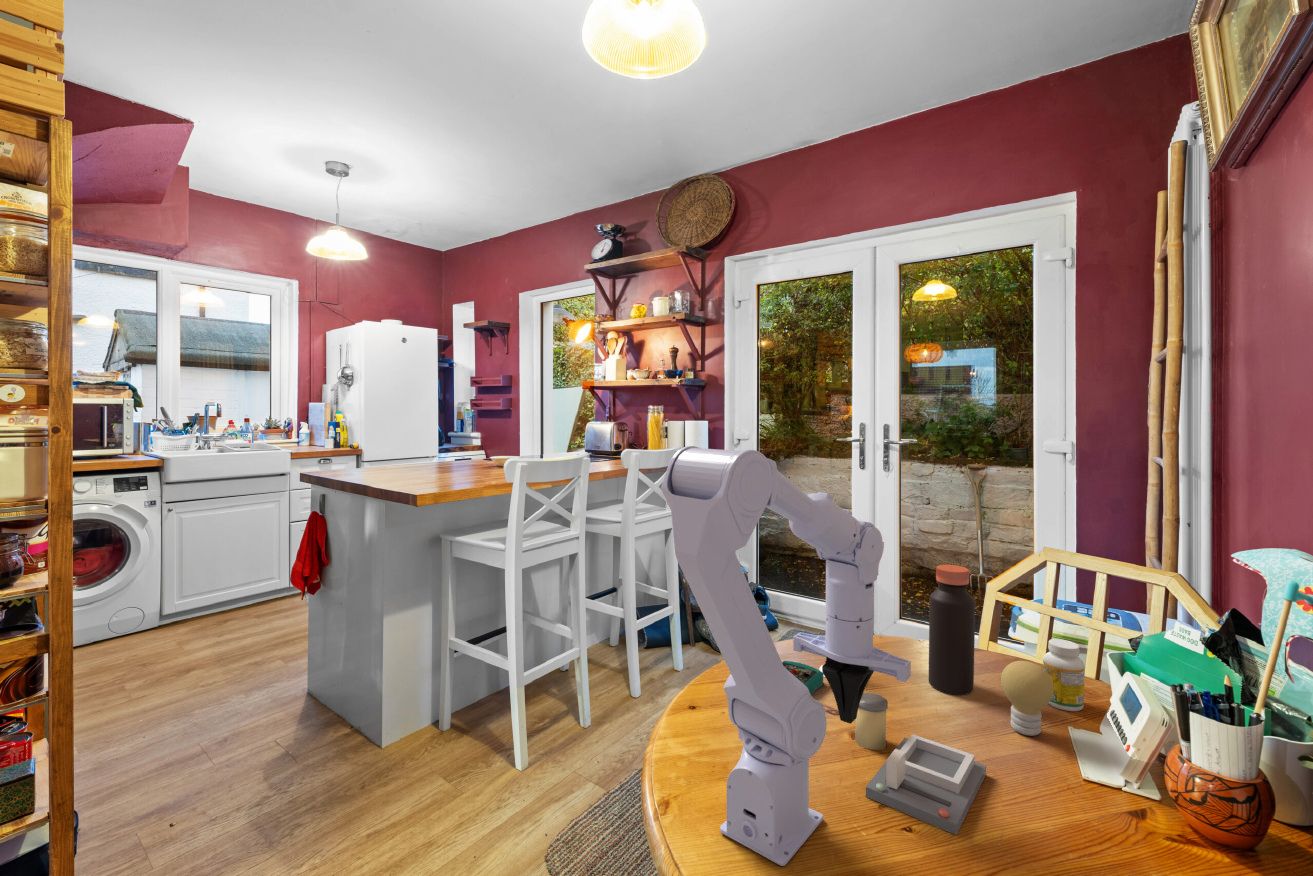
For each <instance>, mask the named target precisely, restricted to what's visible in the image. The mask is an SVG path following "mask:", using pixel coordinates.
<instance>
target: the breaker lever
mask: <svg viewBox="0 0 1313 876" xmlns="http://www.w3.org/2000/svg"><path fill="white" fill-rule="evenodd" d="M886 761H887V776H886V786H889V787H891V788H893V789H896V790H897V789H898V787H899V786H900V784H901V783H902V781H903V780H904V779H905V752H903V751H901V750H898V749H896V748H895V749H894V750H893V751H892V752H891V754H890V755H889V756H888V758H886Z"/></svg>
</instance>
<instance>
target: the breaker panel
mask: <svg viewBox="0 0 1313 876" xmlns="http://www.w3.org/2000/svg"><path fill="white" fill-rule="evenodd" d="M895 749H898V750H901V751H903V752H905V779H904V780H903V781H902V783H901V784H900V786H899V787H898V789H897V790H896V789H893V788H891V787H889V786H886V776H887V760H885V762H884V763H883V765H881V767H880V768H879V769H878V771H877V772H876V773H875V775H874V776H873V777H872V778H871V779H870V781H869V782H868V783H867V785H866V786H865V797H866V798H869V799H871V800H873V801H876V802H878V803H880V804H883V805H885V806H886V807H888V808H892V809H894V810H896V811H899V812H901V813H904V814H906V815H907V816H911V817H912V818H915V819H918V820H920V821H922V822H925V823H927V824H929V825H932V826H934V827H936V828H938V829H941V830H943V831H945V832H947V833H951V834H952V835H955V836H957V835H958V833H959V830H960V829H961V827H962V825H963V823H964V820H965V819H966V816H967V814H968V812H969V811H970V809H971V806H972V805H973V802H974V800H975V798H976V796H977V794H978V792H979V790H980V788H981V786H982V784H983V782H984V780H985V778H986V776H987V765H986V764H983V763H980V762H977V761H975V754H972V753H971V752H966V751H963V750H960V749H958V748H955V747H952V746H949V745H946V744H943V743H939V742H937V741H934V740H931V739H927V738H925V737H921V736H919V735H916V734H913V733H912V734H911V735H910V737H909V738H907V737H904V738H903V739H902V740H901V741H900V743H899V744H898V745H897V746H896V748H895Z"/></svg>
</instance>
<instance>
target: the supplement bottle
mask: <svg viewBox="0 0 1313 876" xmlns="http://www.w3.org/2000/svg"><path fill="white" fill-rule="evenodd" d="M1047 648H1048V652H1046V653H1045V654H1044V655H1043V657H1042V668H1043V669H1044V670H1045V671H1046V672H1047V673H1048V674H1049V676H1050V678H1051V680H1052V683H1053V696H1052V698H1051V700H1050V701H1049V703H1048V704H1047V705H1049V706H1051V707H1053V708H1055V709H1059V710H1062V711H1066V712H1067V711H1068V712H1079V711H1081V710H1082V709H1084V706H1085V670H1086V669H1085V668H1086V667H1085V663H1084V661H1083V660H1082V659H1081V658H1080V653H1081V652H1080V645H1079V644H1077V643H1075V642H1074V641H1070V640H1067V639H1066V640H1065V639H1063V638H1062V639H1060V638H1051V639H1049V640H1048V646H1047Z"/></svg>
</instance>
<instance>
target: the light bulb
mask: <svg viewBox="0 0 1313 876" xmlns="http://www.w3.org/2000/svg"><path fill="white" fill-rule="evenodd" d="M1000 685H1001V687H1002V690H1003V693H1004V694H1005V695H1006V698H1007V700H1009V702H1010V703H1011V706H1010V726H1011V727H1012V728H1013V729H1014V730H1015V731H1016V732H1017V733H1019V734H1022V735H1023V736H1024V735H1025V736H1031V737H1033V736H1037V735H1039V734H1040V733H1041V732H1042V712H1041V710H1042V709H1044V707H1046V706H1047V705H1049V704H1048V703H1049V701H1050V700H1051V698H1052V696H1053V683H1052V680H1051V678H1050V676H1049V674H1048V673H1047V672H1046V671H1045V670H1044V669H1043V666H1042V667H1041V666H1040V665H1039V664H1036V663H1034V662H1031V661H1027V660H1015V661H1012V662H1010V663H1008V664H1007V665H1006V666H1005V667H1004V668H1003V670H1002V672H1001V675H1000Z"/></svg>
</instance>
